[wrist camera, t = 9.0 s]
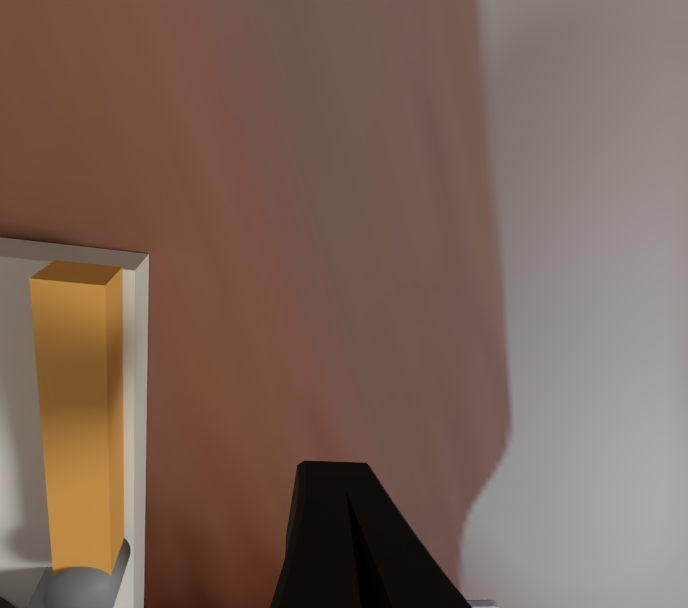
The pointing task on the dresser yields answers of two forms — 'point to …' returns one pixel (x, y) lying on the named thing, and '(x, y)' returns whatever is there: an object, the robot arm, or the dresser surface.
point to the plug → (5, 603)
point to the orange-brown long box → (82, 428)
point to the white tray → (25, 423)
